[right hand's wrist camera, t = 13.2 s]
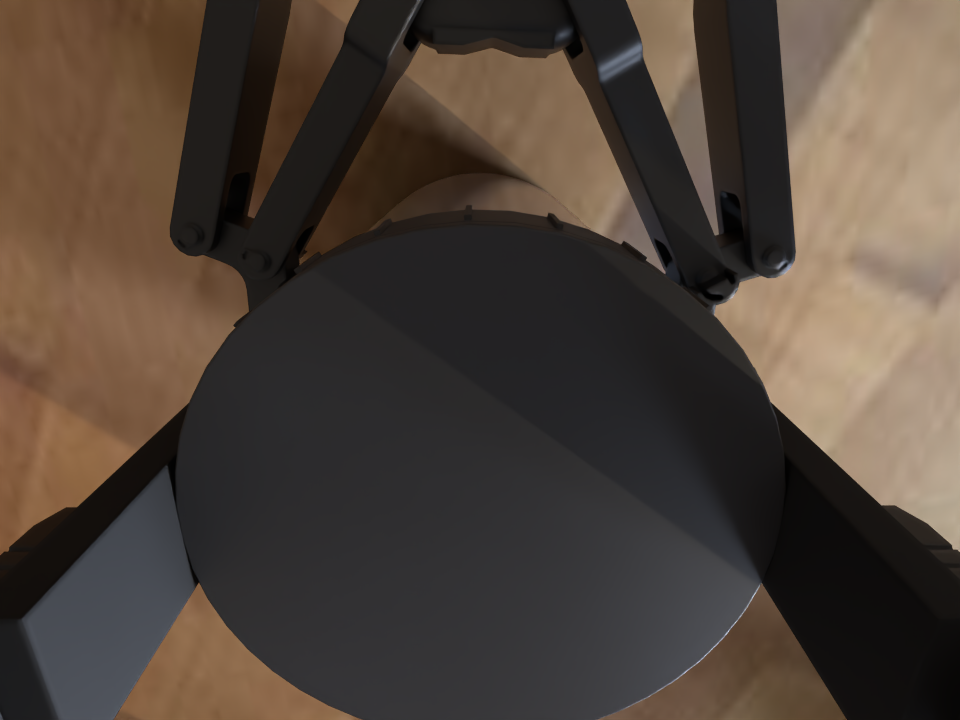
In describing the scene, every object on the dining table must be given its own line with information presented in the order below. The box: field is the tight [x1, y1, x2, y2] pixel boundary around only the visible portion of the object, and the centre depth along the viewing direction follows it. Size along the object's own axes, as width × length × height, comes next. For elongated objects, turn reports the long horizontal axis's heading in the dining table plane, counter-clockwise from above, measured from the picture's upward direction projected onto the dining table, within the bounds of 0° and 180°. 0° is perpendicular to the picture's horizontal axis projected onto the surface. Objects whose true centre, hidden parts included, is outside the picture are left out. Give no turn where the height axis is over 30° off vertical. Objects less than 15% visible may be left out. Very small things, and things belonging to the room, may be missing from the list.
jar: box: [367, 173, 592, 232], centre depth 18 cm, size 10×10×15 cm
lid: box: [175, 205, 786, 720], centre depth 11 cm, size 11×11×2 cm
